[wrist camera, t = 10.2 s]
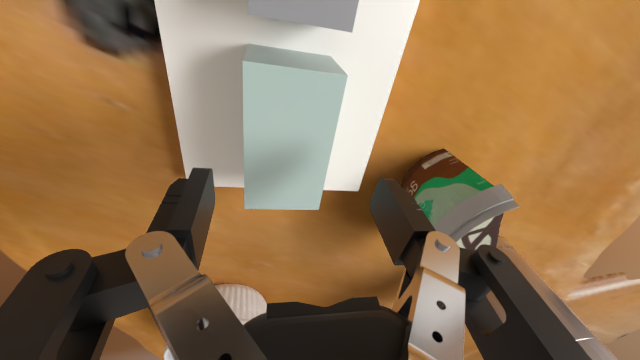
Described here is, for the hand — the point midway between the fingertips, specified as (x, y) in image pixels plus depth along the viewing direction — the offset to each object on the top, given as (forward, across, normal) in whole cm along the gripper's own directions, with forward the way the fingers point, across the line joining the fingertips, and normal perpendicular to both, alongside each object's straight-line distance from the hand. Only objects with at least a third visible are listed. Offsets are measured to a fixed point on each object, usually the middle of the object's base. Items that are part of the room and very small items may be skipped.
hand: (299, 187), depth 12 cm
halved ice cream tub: (+12, -16, +8) cm, 21 cm away
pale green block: (+9, 0, +1) cm, 9 cm away
